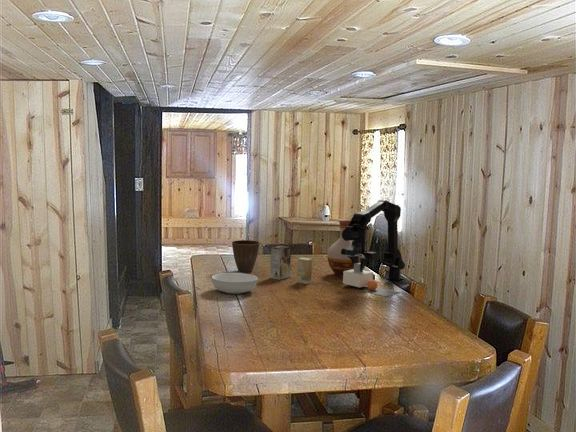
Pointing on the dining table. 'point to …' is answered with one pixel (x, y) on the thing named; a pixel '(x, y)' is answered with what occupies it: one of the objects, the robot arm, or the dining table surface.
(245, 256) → the plant pot
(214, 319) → the dining table surface
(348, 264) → the jug
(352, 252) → the robot arm
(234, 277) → the serving bowl
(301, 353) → the dining table surface
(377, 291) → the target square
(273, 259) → the coffee box
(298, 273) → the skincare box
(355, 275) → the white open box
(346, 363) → the dining table surface
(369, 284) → the ball
